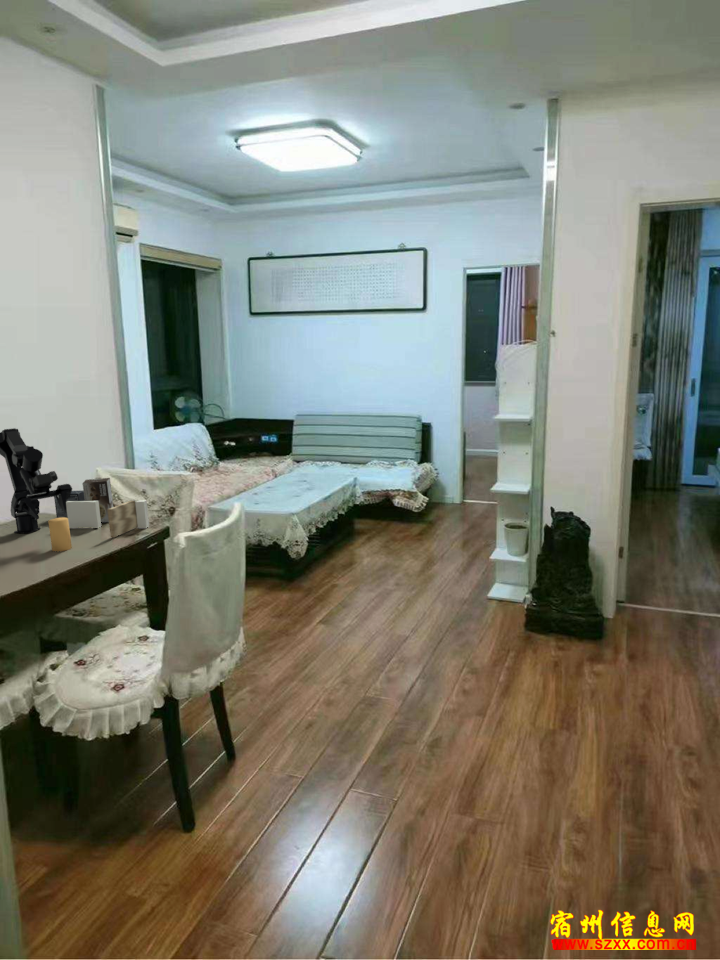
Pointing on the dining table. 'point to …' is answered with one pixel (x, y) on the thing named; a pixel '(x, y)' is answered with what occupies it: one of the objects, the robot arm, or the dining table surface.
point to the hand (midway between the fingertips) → (52, 515)
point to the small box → (73, 497)
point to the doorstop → (60, 534)
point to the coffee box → (99, 495)
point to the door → (122, 518)
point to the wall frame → (90, 514)
